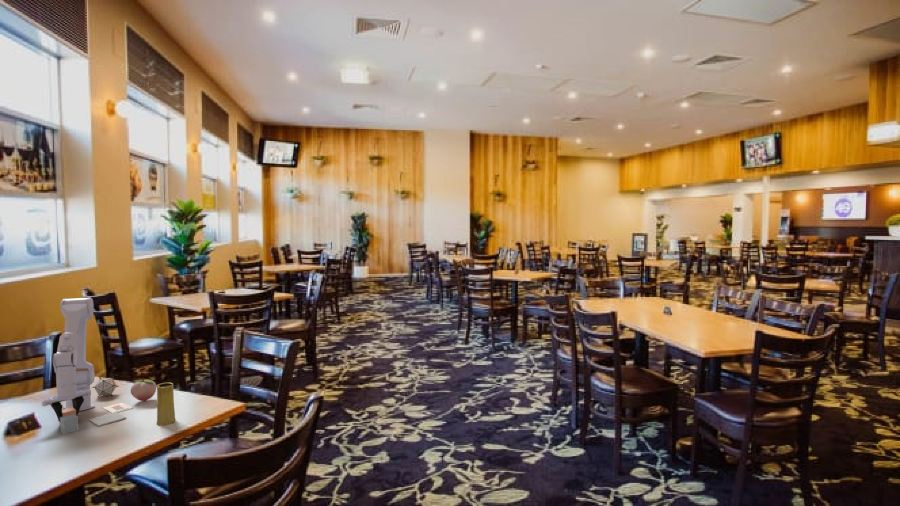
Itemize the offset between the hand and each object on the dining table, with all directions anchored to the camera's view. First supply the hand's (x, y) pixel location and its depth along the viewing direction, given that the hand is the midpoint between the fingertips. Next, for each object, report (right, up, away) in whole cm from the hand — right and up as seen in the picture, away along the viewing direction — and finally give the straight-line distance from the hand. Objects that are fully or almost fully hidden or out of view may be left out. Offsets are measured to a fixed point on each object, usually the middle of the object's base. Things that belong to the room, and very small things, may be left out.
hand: (68, 419), depth 184 cm
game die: (-6, 0, +29) cm, 30 cm away
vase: (+36, -2, +1) cm, 36 cm away
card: (+8, -1, +15) cm, 17 cm away
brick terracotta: (0, -1, 0) cm, 1 cm away
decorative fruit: (+14, 0, +23) cm, 27 cm away
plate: (+12, -1, +3) cm, 13 cm away
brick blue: (+5, -2, -6) cm, 8 cm away
